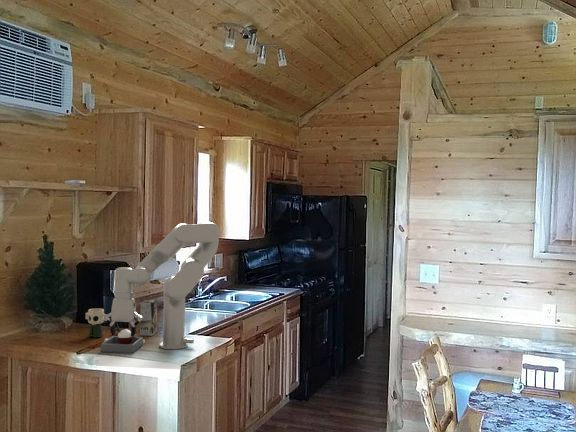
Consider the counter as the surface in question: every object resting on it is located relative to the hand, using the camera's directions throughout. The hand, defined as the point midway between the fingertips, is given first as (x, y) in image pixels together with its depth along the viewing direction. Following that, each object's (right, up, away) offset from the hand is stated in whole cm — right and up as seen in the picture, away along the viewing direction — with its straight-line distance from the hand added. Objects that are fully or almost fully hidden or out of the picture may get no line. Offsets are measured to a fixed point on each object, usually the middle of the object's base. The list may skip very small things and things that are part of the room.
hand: (123, 335), depth 270 cm
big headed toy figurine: (-18, -5, +20) cm, 28 cm away
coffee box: (+4, -5, +30) cm, 30 cm away
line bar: (-2, -6, +10) cm, 11 cm away
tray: (0, -6, 0) cm, 6 cm away
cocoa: (+1, -4, 0) cm, 4 cm away
